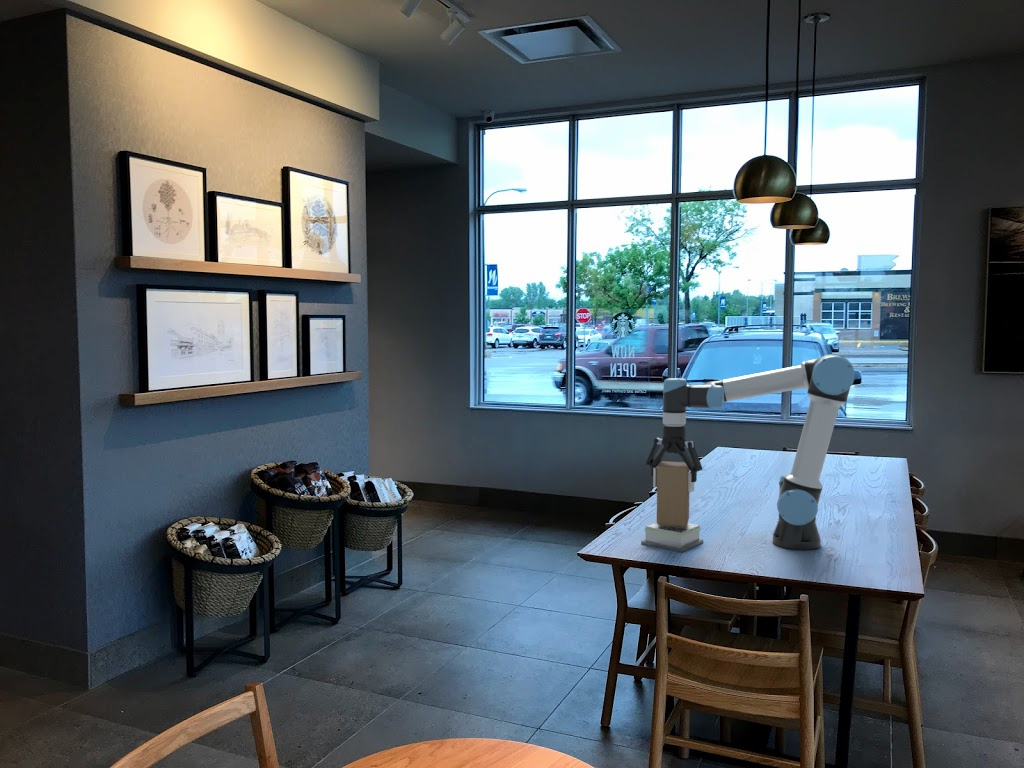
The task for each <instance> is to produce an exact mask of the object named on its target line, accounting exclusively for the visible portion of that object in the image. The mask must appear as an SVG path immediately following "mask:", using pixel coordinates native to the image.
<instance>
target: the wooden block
mask: <svg viewBox="0 0 1024 768" xmlns="http://www.w3.org/2000/svg"><path fill="white" fill-rule="evenodd" d="M657 467H658V468H657V487H656V522H657V524H658V525H664V526H679V527H685V526H687V524H688V523H689V521H690V492H688V472H691V471H690V469H689V468H688V466H687V465H686V463H685V462H684V461H683V462H682V461H662V460H661V462H660V463H659V464H658V465H657Z"/></svg>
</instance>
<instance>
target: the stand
mask: <svg viewBox="0 0 1024 768" xmlns="http://www.w3.org/2000/svg"><path fill="white" fill-rule="evenodd" d="M700 531H701V526H700V524H694V523H690V522H688V524H687V526H685V527H679V526H664V525H658V524H657V521H656V522H654V523H651V524H648V525H646V526H645V528H644V532H645V539H644V540H641V542H640V544H641V545H645V546H649V547H654V548H659V549H663V550H668V551H673V552H678V553H684V552H686V551H687V550H690V549H693V548H695V547H697V546H699V545H702V544H703V543H704V539H701V538H700Z"/></svg>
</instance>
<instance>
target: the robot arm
mask: <svg viewBox="0 0 1024 768" xmlns="http://www.w3.org/2000/svg"><path fill="white" fill-rule="evenodd" d="M854 368H855V367H854V366H853V364H852V362H850V361H849V360H848V359H847V358H846V357H844V356H843V355H840V354H836V353H829V354H825V355H823V356H820V357H817V358H813V359H810V360H806V361H802V362H801V364H799V365H796V366H795V365H794V366H790V367H784V368H779V369H774V370H769V371H763V372H758V373H752V374H747V375H742V376H741V375H740V376H737V377H736V376H735V377H731V378H725V379H721V380H714V381H707V382H704V383H703V384H688V383H687V379H686V378H684V377H683V378H681V377H680V378H679V377H674V378H673V377H669V378H666V379H664V381H663V391H662V404H663V405H662V424H663V426H662V438H661V437H656V438H654V439H653V445H652V448H651V450H650V453H649V455H648V458H647V460H646V462H645V464H646V465H647V466H650V468H651V474H650V475H651V477H652V479H653V480H652V481H653V483H652V484H653V485H652V486H653V488H657V468H658V466H659V464H660V462H662V460H663V459H664V458H665V456H666V455H667V454H668V453H669V454H671V453H673V454H678V455H679V456H680V457H681V458H682V460H683V462H685V463H686V465H687V466H688V468H689V469H690V472H688V492H689V493H693V492H695V483H696V482H697V476H698V472H699V471H703V466H702V464H701V460H700V458H699V455H698V453H697V450H696V448H695V446H696V445H695V441H693V440H692V441H686V437H687V435H686V434H687V427H686V423H687V408H696V409H698V408H699V409H711V410H714V409H722V408H723V407H724V405H725V403H727V402H732V401H737V400H743V399H750V398H756V397H760V396H768V395H771V394H778V393H785V392H789V391H790V392H791V391H795V390H800V389H806V390H807V393H806V394H807V396H808V397H809V399H810V401H809V404H808V408H807V412H806V416H805V420H804V423H803V427H802V430H801V434H800V439H799V440H798V441H799V442H798V445H797V448H796V449H797V450H796V453H795V457H794V459H793V460H794V461H793V464H792V467H791V471H790V472H789V473H788V474H782V475H780V478H779V481H778V485H779V486H778V487H779V492H778V499H777V503H776V506H777V511H778V520H777V523H776V526H775V529H774V531H773V533H772V534H773V535H772V543H773V544H774V545H776V546H778V547H781V548H785V549H790V550H798V551H799V550H802V551H805V550H808V551H810V550H816V549H819V548H821V541H822V539H821V536H820V533H819V530H818V527H817V523H816V520H817V514H818V511H819V509H818V508H819V507H818V506H819V501H820V498H821V494H822V491H823V487H824V486H823V485H822V483H821V481H820V478H821V476H822V475H821V474H822V471H823V468H824V464H825V461H826V460H825V459H826V456H827V453H828V450H829V447H830V443H831V438H832V434H833V431H834V429H835V425H836V421H837V417H838V413H839V410H840V407H841V406H843V405H845V404H847V401H848V398H849V394H850V389H851V387H852V385H853V384H854V382H855V377H856V375H855V374H856V372H855V369H854ZM661 445H662V446H663V448H662V449H661V450H660V452H659V449H660V447H661ZM685 447H686V448H687V449H686V448H685ZM658 452H659V454H658ZM657 454H658V455H657Z"/></svg>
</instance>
